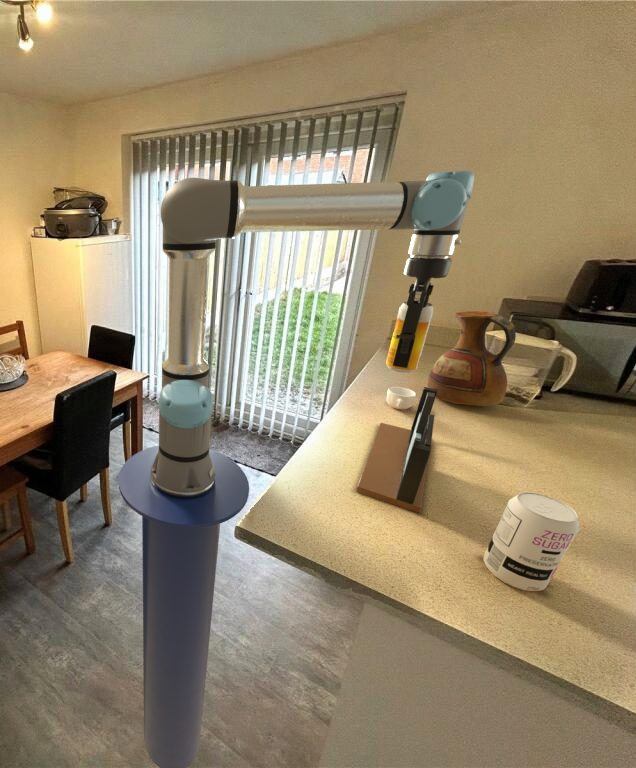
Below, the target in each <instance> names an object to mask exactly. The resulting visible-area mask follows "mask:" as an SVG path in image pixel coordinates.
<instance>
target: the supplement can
mask: <svg viewBox="0 0 636 768" xmlns="http://www.w3.org/2000/svg"><path fill="white" fill-rule="evenodd" d="M578 519H579V515H578V513H577V512H576V511H575V509H574V508H572V507H570V505H568V504H567V503H565V502H563V501H561V500H559V499H557V498H554V497H551V496H549V495H547V494H543V493H538V492H532V491H531V492H530V491H524V492H520V493H518V494H517V495H515V496H514V497H512V498H510V499H509V500H508V501H507V504H506V507H505V509H504V511H503V513H502V514H501V517H500V520H499V522H498V524H497V526H496V528H495V531H494V533H493V536H492V537H491V539H490V541H489V543H488V546H487V547H486V550H485V552H484V554H483V562H484V564H485V566H486V568H487V569H488V571H489V572H491V574H492V575H493V576H494V577H496V578H497V579H498V580H500V581H501V582H503V583H505V584H506V585H509V586H510V587H512V588H515V589H518V590H522V591H529V592H538V591H544V589H545V588H547V586H548V585H549V583H550V581H551V579H553V578H552V577H553V576H554V575H555V572H556V571H557V569H558V567H559V566H560V564H561V562H562V560H563V558H564V556H565V555H566V553H567V552H568V550H569V548H570V546H571V544H572V542H573V541H574V539H575V538H576V536H577V534H578V532H579V531H580V523H579V520H578Z"/></svg>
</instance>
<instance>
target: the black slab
mask: <svg viewBox="0 0 636 768" xmlns="http://www.w3.org/2000/svg"><path fill="white" fill-rule="evenodd" d="M434 394H435V393H430V392H428V393H427V396H426V399H425V403H424V406H423V409H422V412H420V413H419V416H418V419H417V422H416V426H415V429H414V432H413V435H412V438H411V442H410V445H409V448H408V452H407V458H406V463H405V468H406V465H407V462H408V459H409V456H410V452H411V449H412V446H413V443H418V444H420V442H421V435H422V434H423V430H424V427H425V424H426V421H427V418H428V415H429V412H430V409H431V406H432V402H433V399H434ZM405 468H404V471H405ZM403 475H404V472H403ZM402 478H403V477H402Z"/></svg>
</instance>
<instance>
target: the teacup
mask: <svg viewBox="0 0 636 768" xmlns="http://www.w3.org/2000/svg"><path fill="white" fill-rule="evenodd" d="M416 397H417V393H416V392H415V391H414V390H412V389H410V388H406V387H402V386H391V387H389V388H388V389H387V393H386V403H387V404H388V406H389V407H391V408H393V409H396V410H407V409H410V408H411V407H412V406H413V404H414V403H415V400H416Z"/></svg>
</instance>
